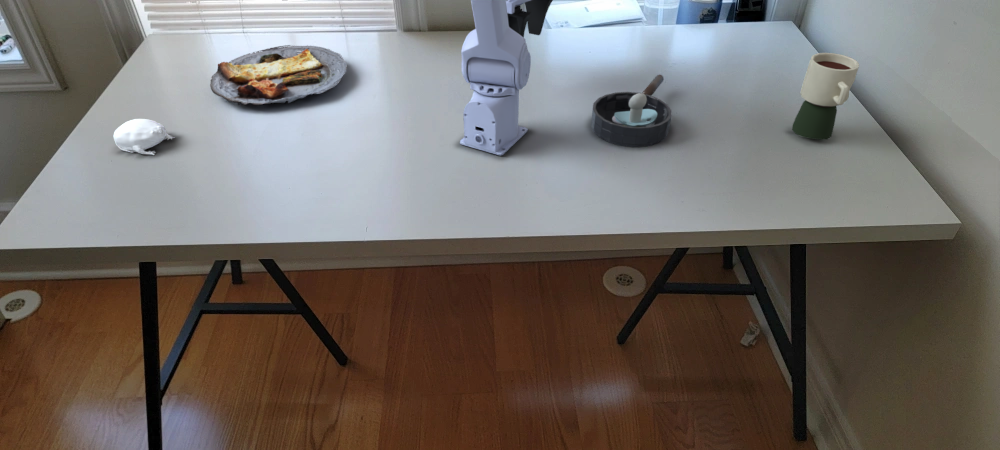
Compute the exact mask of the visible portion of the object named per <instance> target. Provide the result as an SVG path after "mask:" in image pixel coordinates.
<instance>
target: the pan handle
mask: <svg viewBox="0 0 1000 450" xmlns="http://www.w3.org/2000/svg"><path fill="white" fill-rule="evenodd" d="M664 80H665V79H664V76H663V75H662V74H657V75H655V77H654V78H653V79H652V80H651V81H650V82H649V84H648V85H647V86H646V88H645V89H644V90H643V91H642V92H641V93H643V94H645V95H646V94H647V95H651V96H653V95H654V94H655V92H656V91H657V89H658V88H659V87H660V86H661V84H662V83H663V82H664Z"/></svg>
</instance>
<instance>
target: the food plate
mask: <svg viewBox="0 0 1000 450" xmlns="http://www.w3.org/2000/svg"><path fill="white" fill-rule="evenodd" d="M347 68H348V65H347V62H346V61H345V59H344V57H343V56H342V55H341V53H340V52H336V51H334V50H332V49H331V48H327V47H324V46H323V47H322V46H317V45H292V44H287V45H286V44H285V45H279V46H274V47H269V48H264V49H261V50H257V51H253V52H250V53H246V54H242V55H240V56H238V57H235V58H234V59H231V60H230V61H229V62H228V61H221V62H220V63H217V70H216V72H215V73H214V74H213V75H212V76H211V79H210V84H209V87H210V90H211V92H212V93H213V94H214V95H216V96H218V97H220V98H222V99H225V100H226V101H227V102H232V103H237V104H238V106H240V104H241V105H244V106H245V105H248V104H252V105H253V106H259V105H263V104H268V105H269V104H271V103H272V104H274V103H275V104H284V103H286V102H287V104H290V103H292V102H294V101H296V100H297V101H298V100H299V99H304V98H306V97H307V96H310V95H311V96H312V95H313V94H314V95H321V94H323V93H325V92H327V91H329V90H331V89H333V88H335V87H336V86H337V85H339V83H340V82H341V81H342V78H343V77H344V75H345V74H346V73H347Z"/></svg>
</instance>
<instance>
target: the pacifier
mask: <svg viewBox="0 0 1000 450" xmlns="http://www.w3.org/2000/svg"><path fill="white" fill-rule="evenodd" d="M637 93H638V94H635V95H634V96H633V97H632V98H631V99H630V100H629V107H630V108H631V109H630V111H625V112H615V114H614V116H613V118H612V120H613V122H615V123H617V124H620V125H623V126H631V127H643V126H646V125H649V124H651V123H653V122H654V121H655V120H656V118H657V112H656V111H655V110H652V109H643V107H644V106H645V104H646V101H647V98H646V95H645V94H643V93H642V92H637ZM647 120H650V121H647Z"/></svg>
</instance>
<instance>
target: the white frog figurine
mask: <svg viewBox="0 0 1000 450" xmlns="http://www.w3.org/2000/svg"><path fill="white" fill-rule="evenodd" d="M173 139H176V137H175V136H172V135H170V134H168V132H167V129H166V127H165V126H164V125H163V124H162V123H159V122H158V121H155V120H152V119H148V118H134V119H130V120H127V121H125V122H123V124H120V125H119V126H118V127H117V128H116V129H115V130H114V132H113V141H114V142H115V146H116V147H117V148H119V149H120V150H121V151H123V152H128V153H132V154H133V153H138V154H142V155H152V156H155V154H157V152H156V151H155V150H152V151H151V150H148V151H146V150H147V149H150V148H153V147H155V146H157V145H158V144H161V142H163V141H164V140H167V141H169V140H173Z"/></svg>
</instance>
